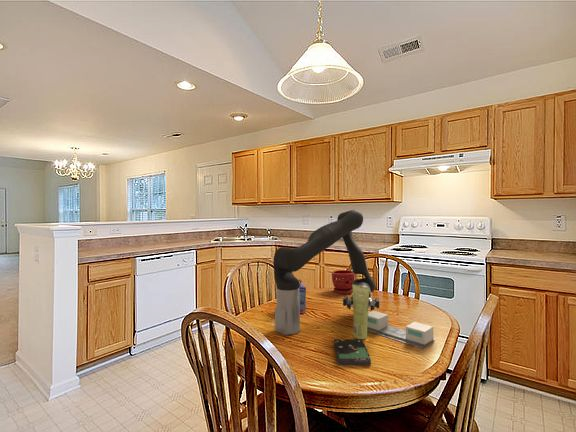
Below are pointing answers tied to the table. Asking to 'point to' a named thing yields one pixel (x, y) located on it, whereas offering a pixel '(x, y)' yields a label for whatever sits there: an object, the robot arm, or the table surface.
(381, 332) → the rail plate
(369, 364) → the disk drive
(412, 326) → the mounted blocks
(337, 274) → the plant pot
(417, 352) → the table surface
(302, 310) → the ink cartridge box
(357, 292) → the tube
